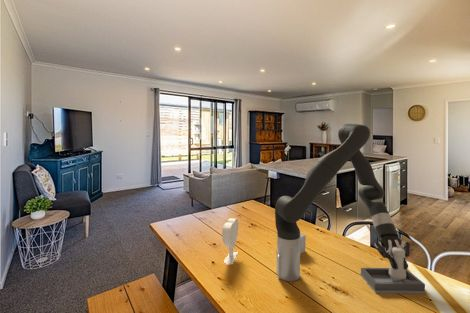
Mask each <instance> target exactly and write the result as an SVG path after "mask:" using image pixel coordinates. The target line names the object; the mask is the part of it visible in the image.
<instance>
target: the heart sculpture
mask: <svg viewBox="0 0 470 313" xmlns="http://www.w3.org/2000/svg"><path fill="white" fill-rule="evenodd" d="M238 234H239V219H238V218H230V217H229V218H228V219H227V222H226V221H225V223H224V224H223V227H222V233H221V235H222V238H221V239H222V243H223V245H224V246H226V247H227V248H228V253H229V254H227V255H228V256H227V255H226V256H227V257H225V258H224V260H223V261H224V263H226V264H225V265H234V263H235V261H236V259H237V257H236V255H237V254H238V252H239V251H237V252H233V251H234V248H235V247H236V243H237V240H238V239H237V238H238ZM238 255H239V254H238ZM235 258H236V259H235ZM234 260H235V261H234ZM233 262H234V263H233ZM224 263H223V264H224Z"/></svg>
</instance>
